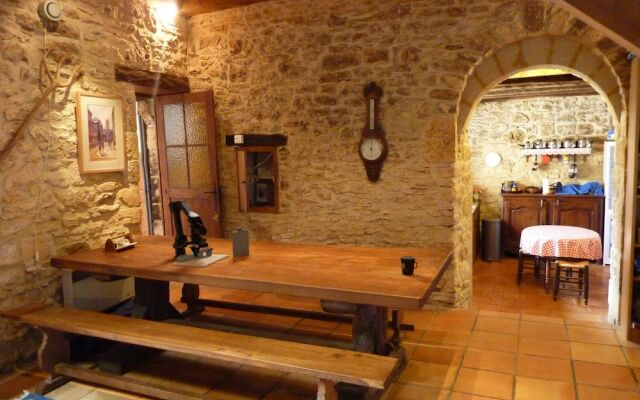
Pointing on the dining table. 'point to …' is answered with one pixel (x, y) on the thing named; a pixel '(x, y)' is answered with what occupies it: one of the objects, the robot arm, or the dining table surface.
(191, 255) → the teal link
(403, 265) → the coffee mug
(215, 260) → the cream base plate
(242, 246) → the hip flask
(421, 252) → the dining table surface
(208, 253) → the iron keeper
